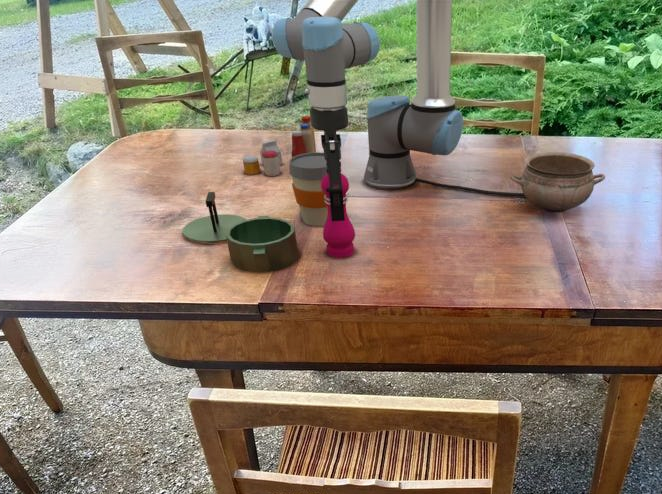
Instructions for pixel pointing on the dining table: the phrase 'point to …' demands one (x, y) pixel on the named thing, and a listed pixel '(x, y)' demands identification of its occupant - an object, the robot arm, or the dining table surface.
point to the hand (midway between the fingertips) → (336, 208)
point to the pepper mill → (338, 225)
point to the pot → (262, 244)
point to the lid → (210, 224)
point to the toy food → (272, 155)
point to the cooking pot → (557, 180)
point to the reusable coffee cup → (309, 186)
